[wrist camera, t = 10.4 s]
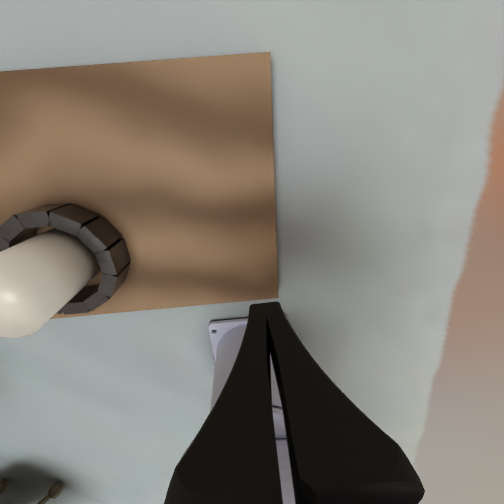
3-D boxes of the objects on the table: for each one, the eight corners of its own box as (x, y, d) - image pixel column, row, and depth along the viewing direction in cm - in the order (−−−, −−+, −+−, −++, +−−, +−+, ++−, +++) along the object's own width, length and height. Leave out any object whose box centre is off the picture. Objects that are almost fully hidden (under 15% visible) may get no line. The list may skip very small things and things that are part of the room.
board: (276, 288, 24) (278, 297, 22) (46, 309, 23) (34, 320, 22) (267, 60, 16) (270, 52, 15) (-69, 84, 16) (-99, 78, 14)
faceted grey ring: (140, 291, 21) (128, 309, 19) (47, 299, 21) (24, 318, 19) (112, 199, 18) (94, 207, 16) (2, 208, 18) (-33, 217, 15)
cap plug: (114, 275, 20) (57, 335, 14) (57, 278, 20) (-26, 340, 14) (97, 222, 19) (24, 263, 12) (35, 225, 18) (-73, 268, 12)
